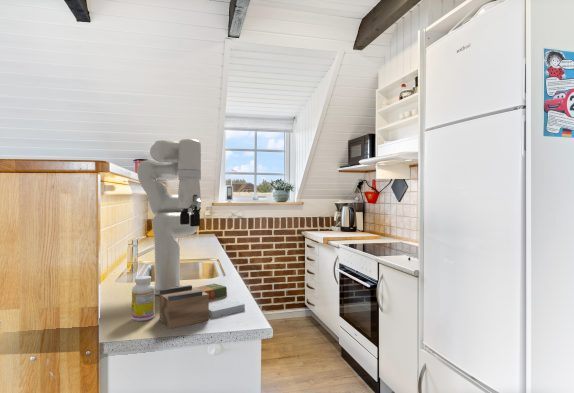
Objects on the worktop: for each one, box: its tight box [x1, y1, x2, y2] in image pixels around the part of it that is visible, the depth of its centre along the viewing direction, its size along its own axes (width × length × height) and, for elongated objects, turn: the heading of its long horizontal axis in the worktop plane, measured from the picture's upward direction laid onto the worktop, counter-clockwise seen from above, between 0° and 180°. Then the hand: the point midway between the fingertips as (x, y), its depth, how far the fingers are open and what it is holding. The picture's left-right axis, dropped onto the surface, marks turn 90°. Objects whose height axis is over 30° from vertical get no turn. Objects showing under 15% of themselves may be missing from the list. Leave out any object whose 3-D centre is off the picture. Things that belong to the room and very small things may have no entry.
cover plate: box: [209, 299, 246, 319], centre depth 118 cm, size 6×12×2 cm, turn 129°
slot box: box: [159, 284, 210, 330], centre depth 110 cm, size 10×12×9 cm
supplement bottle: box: [131, 275, 156, 322], centre depth 112 cm, size 7×7×13 cm
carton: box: [194, 283, 228, 301], centre depth 133 cm, size 8×16×4 cm, turn 136°
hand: (189, 225), depth 122 cm, fingers open, 9 cm apart
